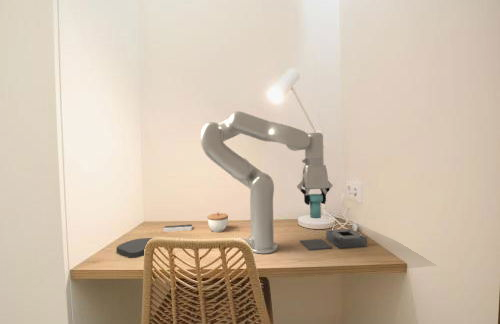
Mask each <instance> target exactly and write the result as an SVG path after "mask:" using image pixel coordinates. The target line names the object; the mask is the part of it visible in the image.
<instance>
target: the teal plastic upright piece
mask: <svg viewBox="0 0 500 324" xmlns="http://www.w3.org/2000/svg"><path fill="white" fill-rule="evenodd" d="M321 194H322V193H308V195H309V198H310V204H309V217H310V218H311V219H321V218H322V212H321V211H322V207H321V206H322V205H321V204H322V203H321V202H322V201H323V195H321Z"/></svg>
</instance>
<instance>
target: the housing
mask: <svg viewBox="0 0 500 324" xmlns="http://www.w3.org/2000/svg"><path fill="white" fill-rule="evenodd" d="M325 235H326V238H325V239H326V240H327V241H328V242H330V243H331V244H332V245H334V246H335V247H337V248H338V249H340V250H342V249H355V248H356V249H357V248H366V247H368V237H367V236H366V235H364V234H361V233H360V232H357V231H356V230H353V229H352V228H349V227H348V228H344V229H343V228H342V229H329V230H328V229H327V230H326V231H325Z"/></svg>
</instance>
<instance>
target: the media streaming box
mask: <svg viewBox="0 0 500 324" xmlns="http://www.w3.org/2000/svg"><path fill="white" fill-rule="evenodd" d="M152 238H153V237H145V238H143V237H141V238H136V239H131V240H129V241H125V242H123V243H121V244H119V245H117V246H116V247H115V249H116V253H117V254H118V255H121V256H123V257H126V258H131V259H132V258H138V257H139V258H140V257H143V256H144V249H145V246H146V244H147V242H148V241H149V240H150V239H152Z"/></svg>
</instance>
